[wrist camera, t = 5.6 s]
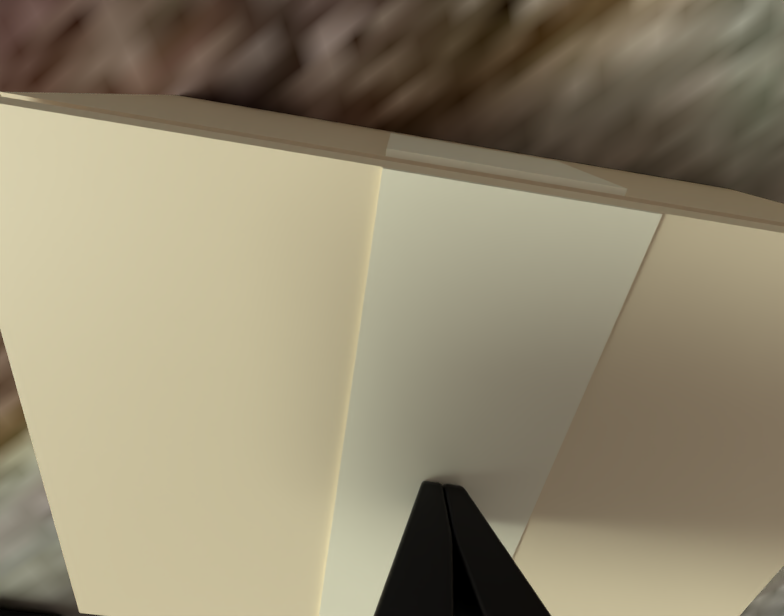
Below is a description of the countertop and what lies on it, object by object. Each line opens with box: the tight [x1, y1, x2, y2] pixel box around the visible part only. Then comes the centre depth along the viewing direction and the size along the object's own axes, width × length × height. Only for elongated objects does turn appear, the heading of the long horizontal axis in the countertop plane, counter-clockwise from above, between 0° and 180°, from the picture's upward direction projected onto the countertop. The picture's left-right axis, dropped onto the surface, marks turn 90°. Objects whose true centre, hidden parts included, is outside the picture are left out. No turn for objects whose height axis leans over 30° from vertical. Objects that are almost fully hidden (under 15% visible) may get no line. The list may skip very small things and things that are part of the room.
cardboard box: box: [0, 92, 784, 227], centre depth 12 cm, size 12×16×6 cm
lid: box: [0, 96, 784, 616], centre depth 9 cm, size 12×16×1 cm
